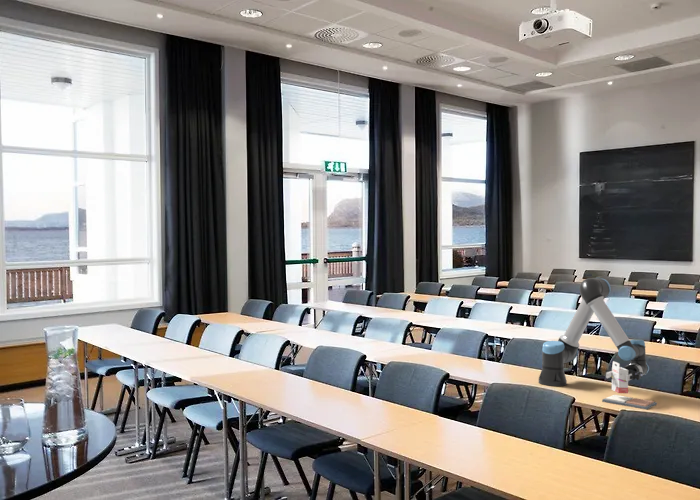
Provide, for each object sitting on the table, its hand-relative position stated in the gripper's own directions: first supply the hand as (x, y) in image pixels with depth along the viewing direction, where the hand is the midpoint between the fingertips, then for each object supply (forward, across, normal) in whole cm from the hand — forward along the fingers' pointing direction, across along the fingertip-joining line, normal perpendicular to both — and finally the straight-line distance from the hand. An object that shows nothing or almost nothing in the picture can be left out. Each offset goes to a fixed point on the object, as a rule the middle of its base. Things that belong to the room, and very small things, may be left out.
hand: (616, 376), depth 308 cm
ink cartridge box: (-5, 0, -8) cm, 9 cm away
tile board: (-5, -5, -13) cm, 14 cm away
